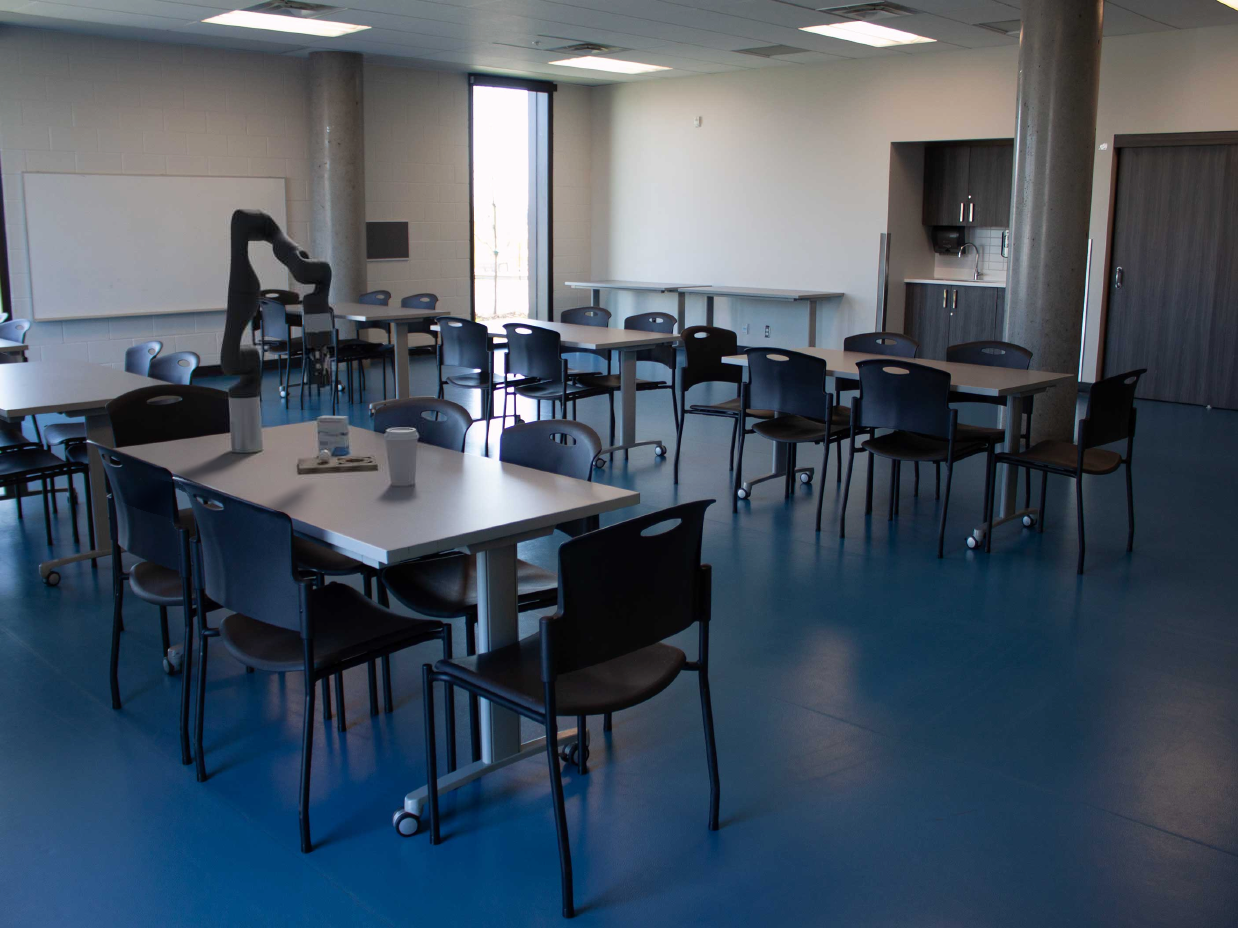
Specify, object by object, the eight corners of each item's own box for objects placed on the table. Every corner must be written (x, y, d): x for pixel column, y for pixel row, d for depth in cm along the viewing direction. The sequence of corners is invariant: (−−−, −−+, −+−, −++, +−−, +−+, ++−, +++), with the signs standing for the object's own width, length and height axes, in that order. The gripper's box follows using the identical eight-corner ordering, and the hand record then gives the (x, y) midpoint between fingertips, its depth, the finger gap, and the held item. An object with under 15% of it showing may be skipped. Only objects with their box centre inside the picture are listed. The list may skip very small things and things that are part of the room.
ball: (319, 463, 317) (318, 451, 316) (318, 461, 320) (318, 449, 319) (331, 462, 318) (330, 451, 317) (331, 460, 321) (330, 449, 320)
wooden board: (299, 473, 310) (298, 468, 310) (298, 463, 324) (298, 458, 324) (377, 469, 316) (377, 464, 316) (373, 459, 330) (373, 454, 330)
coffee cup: (427, 481, 301) (425, 428, 298) (409, 488, 292) (407, 433, 289) (396, 478, 304) (394, 426, 301) (378, 485, 295) (376, 431, 292)
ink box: (350, 452, 341) (348, 415, 339) (344, 455, 337) (343, 418, 334) (323, 452, 342) (322, 415, 340) (318, 454, 338) (316, 417, 335)
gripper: (309, 331, 317) (315, 386, 319) (300, 331, 303) (307, 389, 305) (335, 329, 317) (341, 384, 320) (328, 329, 303) (334, 387, 306)
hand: (324, 387), depth 312 cm, fingers open, 8 cm apart
